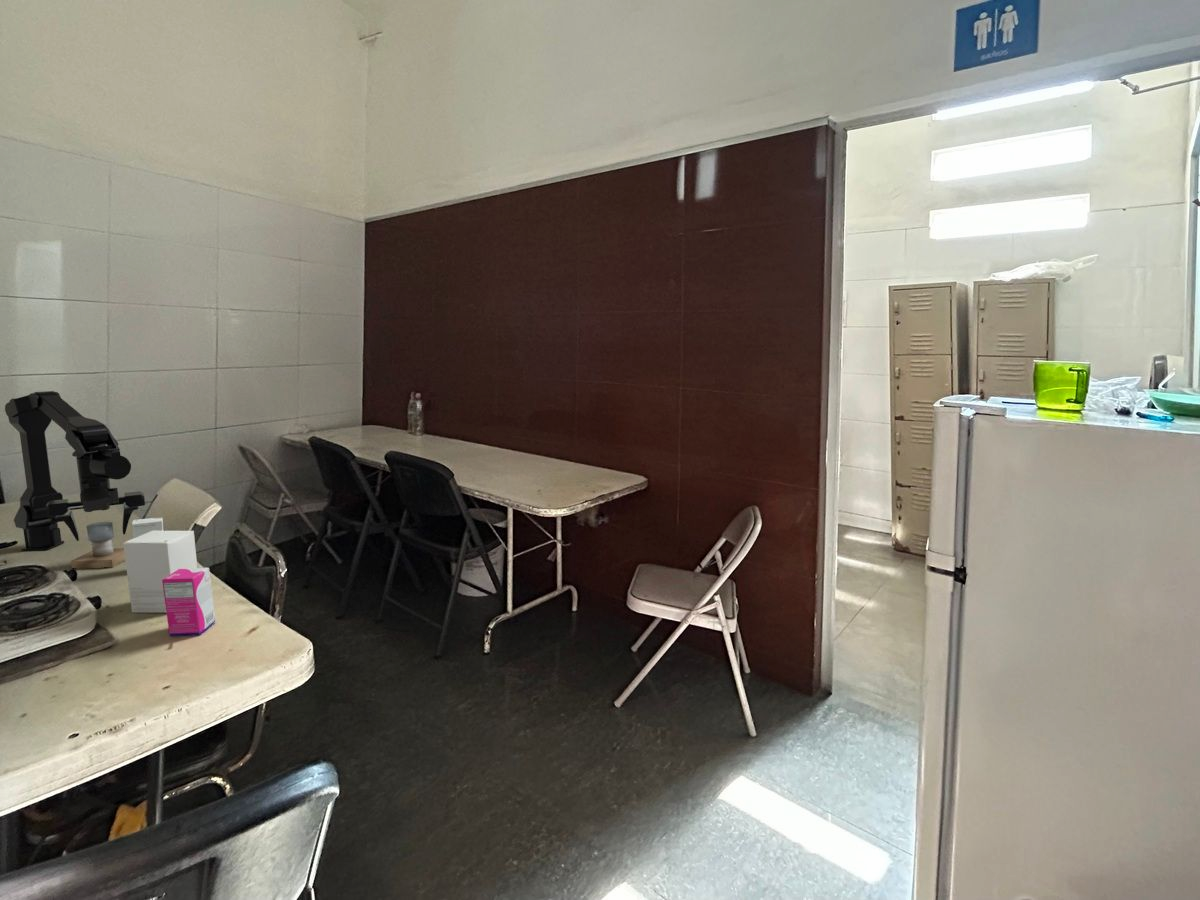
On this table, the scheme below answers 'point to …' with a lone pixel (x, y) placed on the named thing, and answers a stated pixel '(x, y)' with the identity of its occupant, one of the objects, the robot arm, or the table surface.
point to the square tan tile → (100, 556)
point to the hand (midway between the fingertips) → (101, 537)
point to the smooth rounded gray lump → (100, 531)
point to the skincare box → (146, 526)
